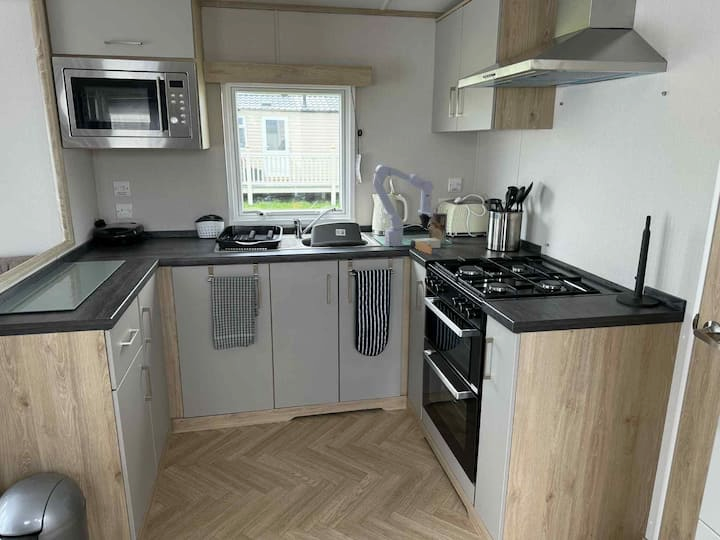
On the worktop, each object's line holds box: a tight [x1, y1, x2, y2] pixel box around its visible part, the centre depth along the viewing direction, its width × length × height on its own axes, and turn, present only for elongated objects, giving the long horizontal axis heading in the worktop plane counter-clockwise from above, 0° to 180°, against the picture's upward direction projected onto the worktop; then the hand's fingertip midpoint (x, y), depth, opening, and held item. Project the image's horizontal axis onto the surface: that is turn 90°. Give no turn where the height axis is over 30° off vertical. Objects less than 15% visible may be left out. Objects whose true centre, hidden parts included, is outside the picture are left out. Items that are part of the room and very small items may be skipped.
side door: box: [416, 240, 433, 255], centre depth 262 cm, size 14×2×7 cm, turn 23°
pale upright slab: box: [410, 237, 442, 250], centre depth 275 cm, size 15×7×4 cm, turn 109°
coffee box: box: [428, 212, 448, 244], centre depth 289 cm, size 9×6×16 cm
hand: (424, 228), depth 278 cm, fingers closed
